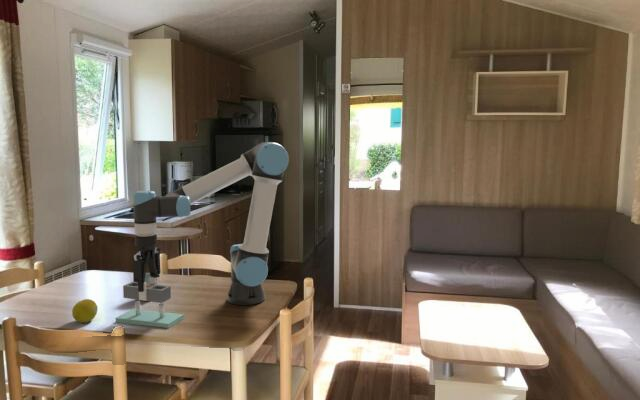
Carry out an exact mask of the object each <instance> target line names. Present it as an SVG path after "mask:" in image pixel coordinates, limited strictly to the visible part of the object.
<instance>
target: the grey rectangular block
mask: <svg viewBox="0 0 640 400" xmlns="http://www.w3.org/2000/svg"><path fill="white" fill-rule="evenodd" d="M122 289H123V294H122V295H123V296H122V297H123V299H131V300H137V301H140V300H139V291H138V283H137V282H134V281H131V282H129V283H126V284H124V285H123V286H122ZM171 289H172V288H171V285H169V286H168V285H162V284H157V285H156V284H148V283H146V291H147V300H146V301H145V302H152V303H159V304H161V303H163V304H164V303H165V302H166V301H168V300H171V295H172V293H171V292H172V290H171Z"/></svg>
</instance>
